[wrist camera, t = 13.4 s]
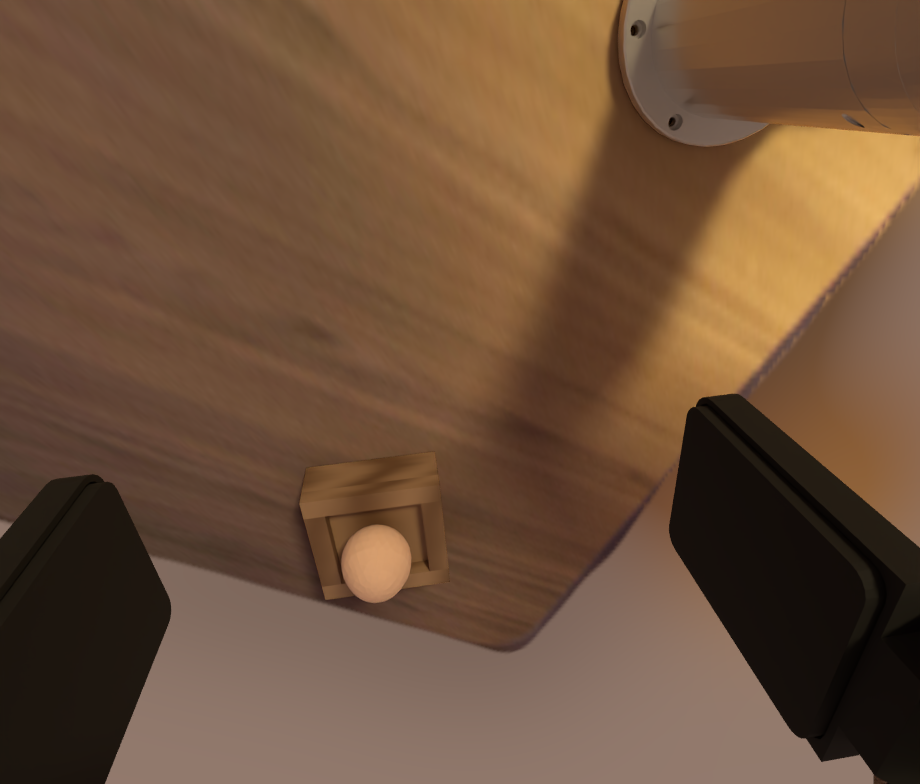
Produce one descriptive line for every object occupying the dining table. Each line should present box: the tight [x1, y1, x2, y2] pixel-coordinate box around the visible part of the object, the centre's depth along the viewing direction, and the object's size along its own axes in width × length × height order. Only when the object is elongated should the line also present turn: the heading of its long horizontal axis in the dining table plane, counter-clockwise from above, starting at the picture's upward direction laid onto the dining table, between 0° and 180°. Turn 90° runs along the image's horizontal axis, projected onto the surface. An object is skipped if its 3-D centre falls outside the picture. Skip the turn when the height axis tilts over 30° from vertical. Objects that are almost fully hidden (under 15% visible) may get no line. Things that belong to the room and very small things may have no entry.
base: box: [299, 451, 450, 600], centre depth 43 cm, size 10×10×4 cm
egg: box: [341, 524, 411, 603], centre depth 40 cm, size 5×5×6 cm
